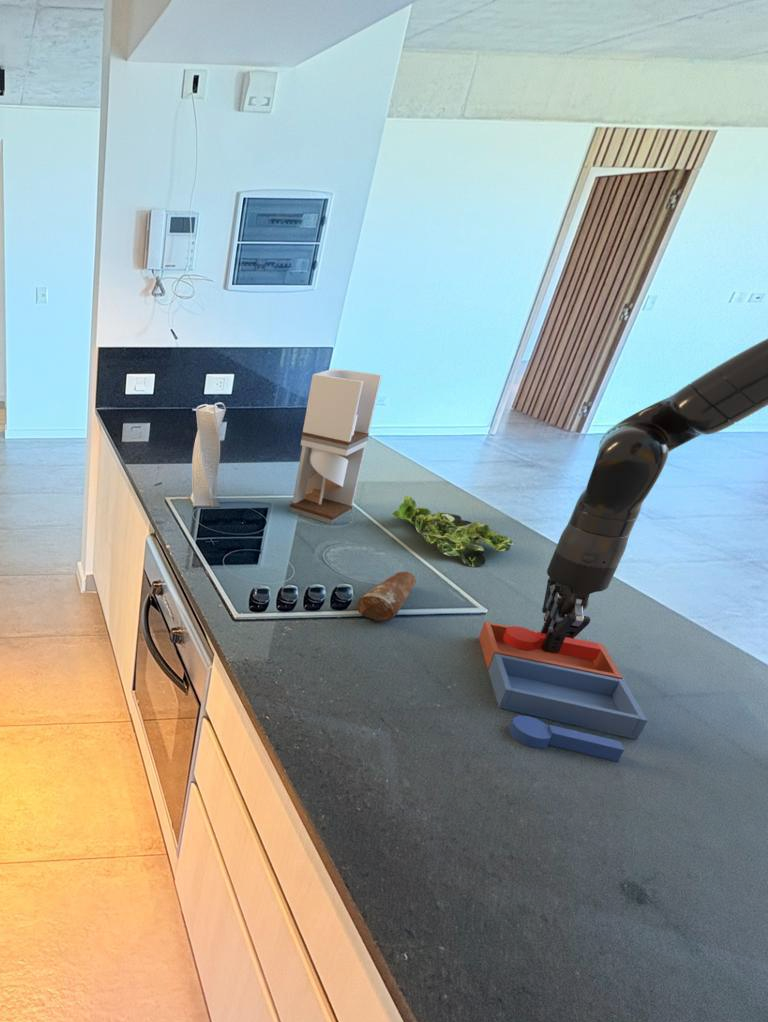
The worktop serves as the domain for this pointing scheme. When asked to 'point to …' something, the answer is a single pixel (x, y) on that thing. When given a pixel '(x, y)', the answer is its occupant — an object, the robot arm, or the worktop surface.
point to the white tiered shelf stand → (334, 442)
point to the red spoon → (532, 641)
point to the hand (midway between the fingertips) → (547, 646)
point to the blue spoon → (563, 738)
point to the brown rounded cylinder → (387, 597)
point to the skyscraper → (206, 456)
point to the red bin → (543, 653)
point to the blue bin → (566, 696)
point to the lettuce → (453, 533)
